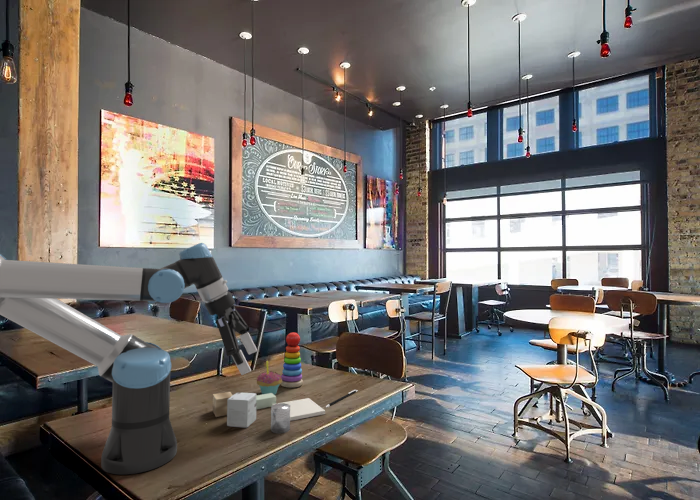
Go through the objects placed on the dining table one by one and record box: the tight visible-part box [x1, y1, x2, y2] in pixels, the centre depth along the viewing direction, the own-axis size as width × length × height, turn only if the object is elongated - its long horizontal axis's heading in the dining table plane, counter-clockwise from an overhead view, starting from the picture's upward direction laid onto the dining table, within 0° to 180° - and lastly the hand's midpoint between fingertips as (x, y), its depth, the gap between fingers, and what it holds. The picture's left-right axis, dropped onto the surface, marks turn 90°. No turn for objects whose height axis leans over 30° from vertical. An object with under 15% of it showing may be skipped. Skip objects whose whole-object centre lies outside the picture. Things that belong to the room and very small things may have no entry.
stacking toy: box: [280, 332, 304, 389], centre depth 144 cm, size 8×8×19 cm
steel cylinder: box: [270, 402, 291, 434], centre depth 107 cm, size 5×5×6 cm
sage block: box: [256, 393, 277, 410], centre depth 124 cm, size 7×4×3 cm, turn 120°
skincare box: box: [226, 391, 257, 429], centre depth 111 cm, size 6×6×7 cm
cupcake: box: [256, 360, 282, 396], centre depth 135 cm, size 9×8×12 cm
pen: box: [325, 389, 359, 408], centre depth 131 cm, size 1×19×1 cm, turn 148°
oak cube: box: [212, 391, 233, 418], centre depth 118 cm, size 5×5×5 cm
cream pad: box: [272, 397, 326, 422], centre depth 120 cm, size 12×12×1 cm
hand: (250, 362), depth 115 cm, fingers open, 13 cm apart
